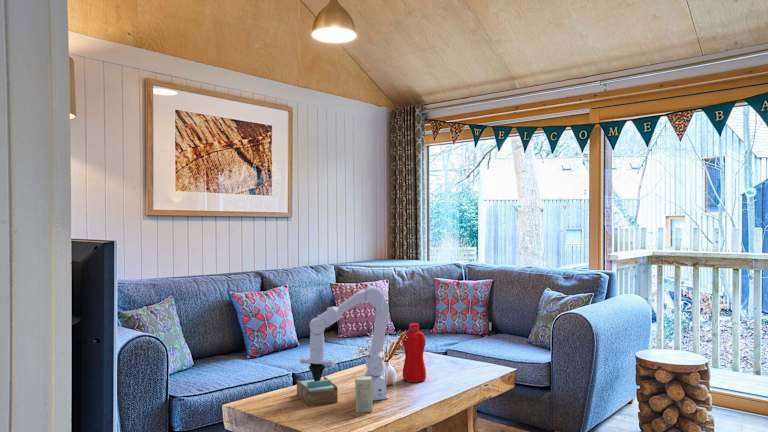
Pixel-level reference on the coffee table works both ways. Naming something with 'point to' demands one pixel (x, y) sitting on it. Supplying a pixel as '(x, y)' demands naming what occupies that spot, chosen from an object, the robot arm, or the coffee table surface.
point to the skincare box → (363, 394)
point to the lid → (317, 385)
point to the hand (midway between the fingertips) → (317, 382)
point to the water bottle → (414, 354)
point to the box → (317, 395)
